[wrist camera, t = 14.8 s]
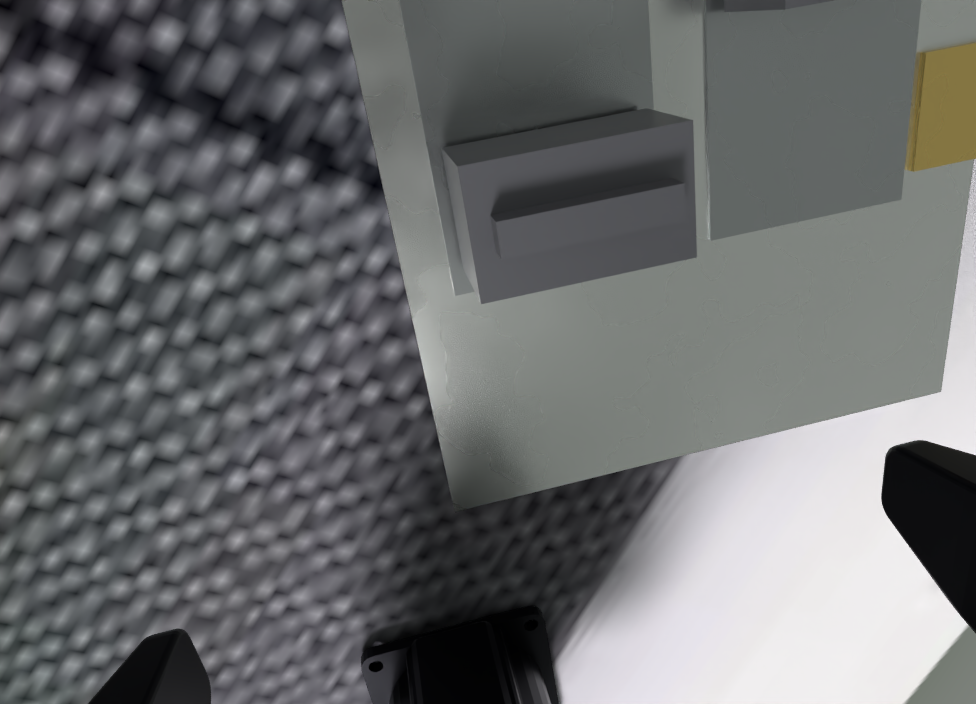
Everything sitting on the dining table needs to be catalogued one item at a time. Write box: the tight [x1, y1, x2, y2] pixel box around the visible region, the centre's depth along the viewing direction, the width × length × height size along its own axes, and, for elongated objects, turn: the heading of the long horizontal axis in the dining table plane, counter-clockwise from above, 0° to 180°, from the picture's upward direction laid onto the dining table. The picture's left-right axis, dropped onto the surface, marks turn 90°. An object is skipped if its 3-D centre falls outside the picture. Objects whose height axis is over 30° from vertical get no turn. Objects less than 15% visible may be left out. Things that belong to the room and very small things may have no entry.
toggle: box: [442, 108, 697, 304], centre depth 16 cm, size 3×5×3 cm, turn 99°
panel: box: [341, 0, 976, 512], centre depth 17 cm, size 24×16×3 cm, turn 9°
